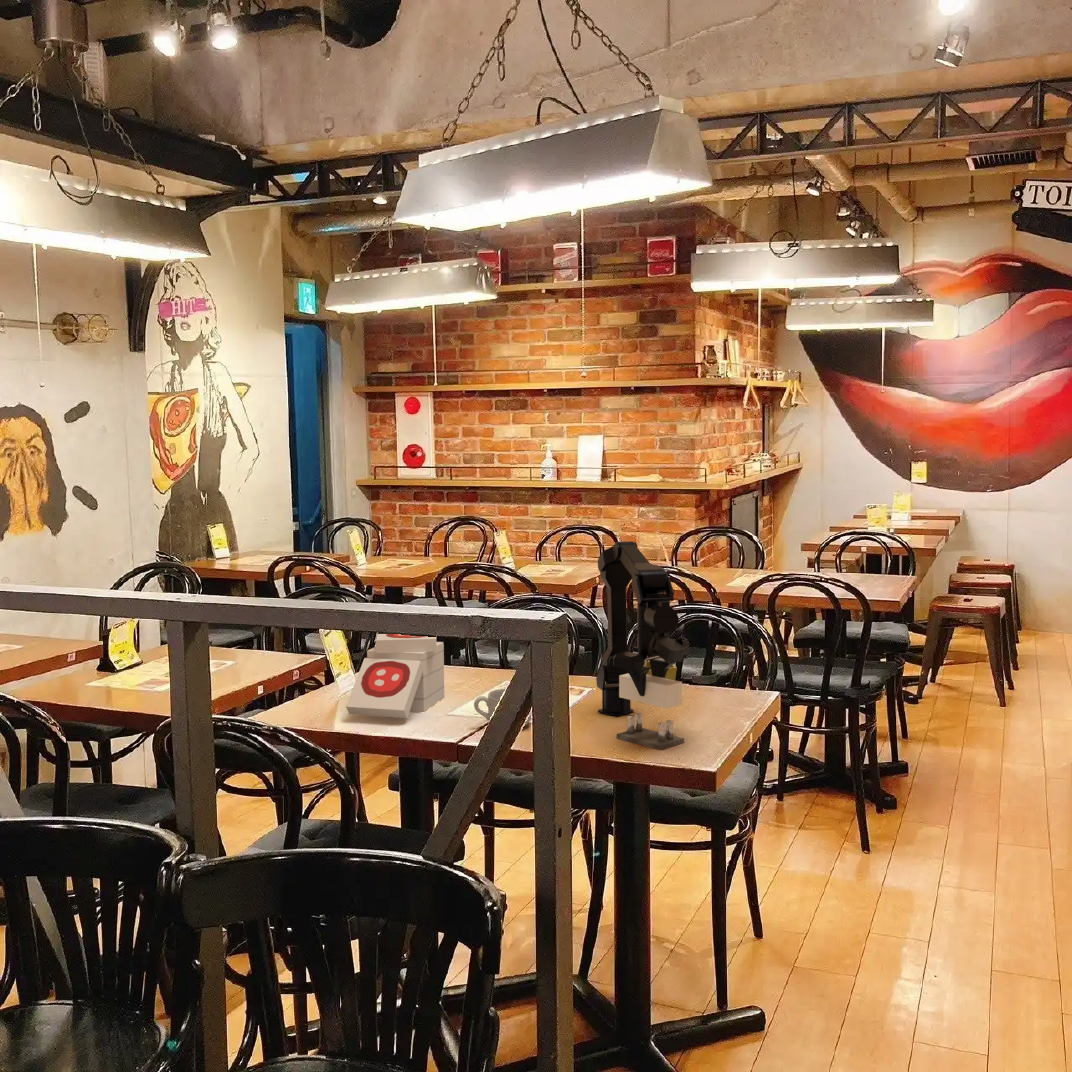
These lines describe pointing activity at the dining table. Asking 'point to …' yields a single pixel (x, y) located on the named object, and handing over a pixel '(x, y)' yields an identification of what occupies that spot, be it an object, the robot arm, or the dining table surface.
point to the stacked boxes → (399, 677)
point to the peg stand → (649, 734)
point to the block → (652, 691)
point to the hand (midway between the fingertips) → (650, 693)
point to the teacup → (491, 703)
